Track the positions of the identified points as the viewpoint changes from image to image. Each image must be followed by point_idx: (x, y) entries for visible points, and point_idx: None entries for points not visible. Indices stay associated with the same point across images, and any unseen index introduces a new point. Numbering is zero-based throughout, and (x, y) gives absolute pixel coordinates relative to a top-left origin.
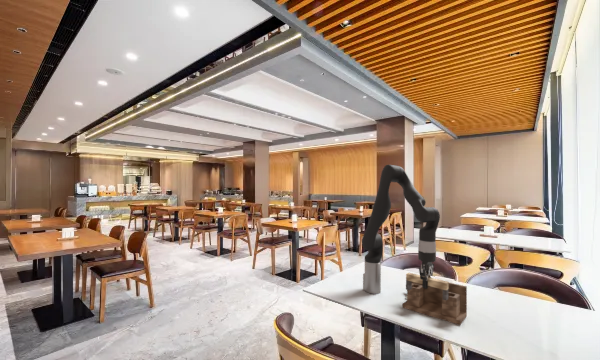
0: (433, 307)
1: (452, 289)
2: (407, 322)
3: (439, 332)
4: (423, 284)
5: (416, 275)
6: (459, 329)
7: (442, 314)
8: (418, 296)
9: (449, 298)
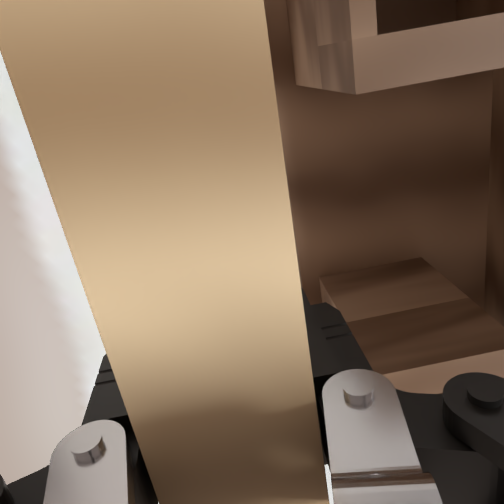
0: (400, 169)
1: None
2: (3, 135)
3: (93, 348)
4: (98, 390)
5: (167, 233)
6: None
7: (316, 280)
8: (323, 78)
9: None
